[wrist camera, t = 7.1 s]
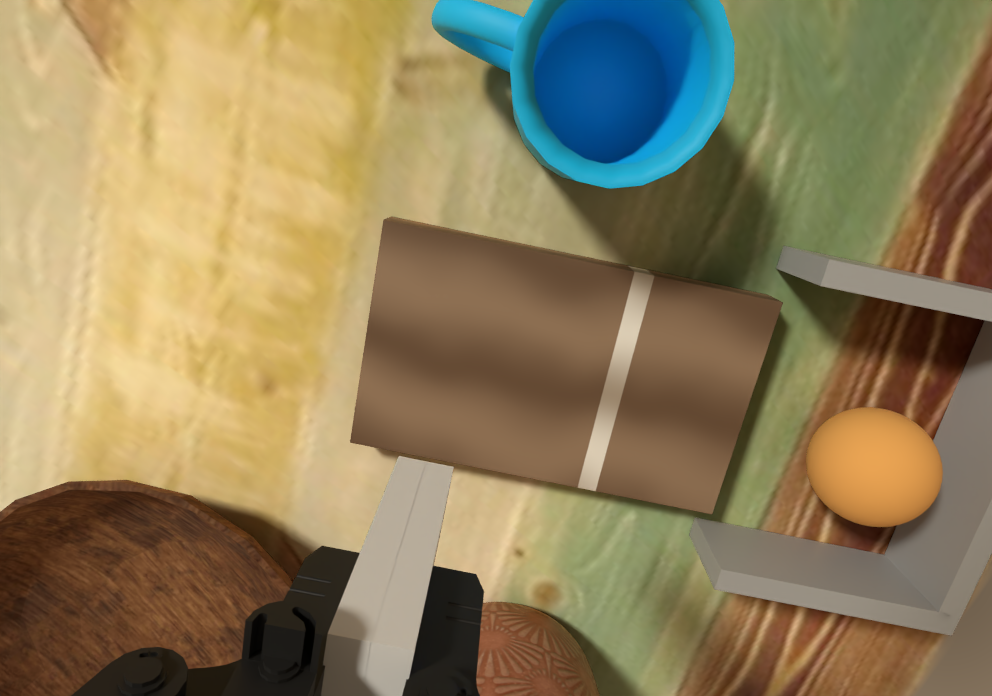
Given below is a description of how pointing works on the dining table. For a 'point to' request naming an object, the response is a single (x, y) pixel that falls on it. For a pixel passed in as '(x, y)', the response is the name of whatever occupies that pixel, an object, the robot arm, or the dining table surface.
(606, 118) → the mug
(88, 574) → the bowl
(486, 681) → the planter
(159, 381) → the dining table surface
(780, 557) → the grey frame
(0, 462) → the dining table surface
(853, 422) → the ball
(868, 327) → the dining table surface
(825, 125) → the dining table surface
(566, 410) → the board
